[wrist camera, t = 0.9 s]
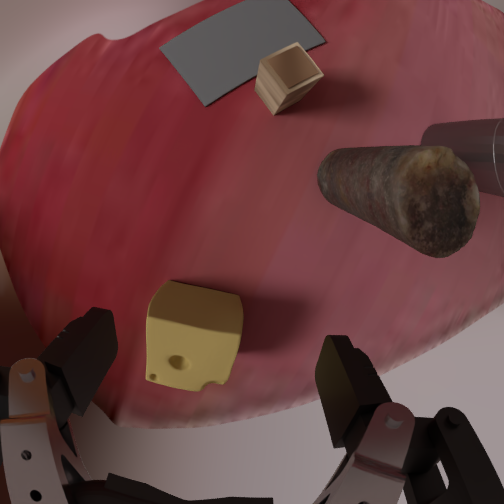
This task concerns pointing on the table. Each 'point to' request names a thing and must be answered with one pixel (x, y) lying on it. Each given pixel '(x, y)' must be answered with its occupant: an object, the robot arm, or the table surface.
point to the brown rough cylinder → (406, 193)
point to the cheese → (192, 336)
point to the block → (286, 77)
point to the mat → (236, 45)
